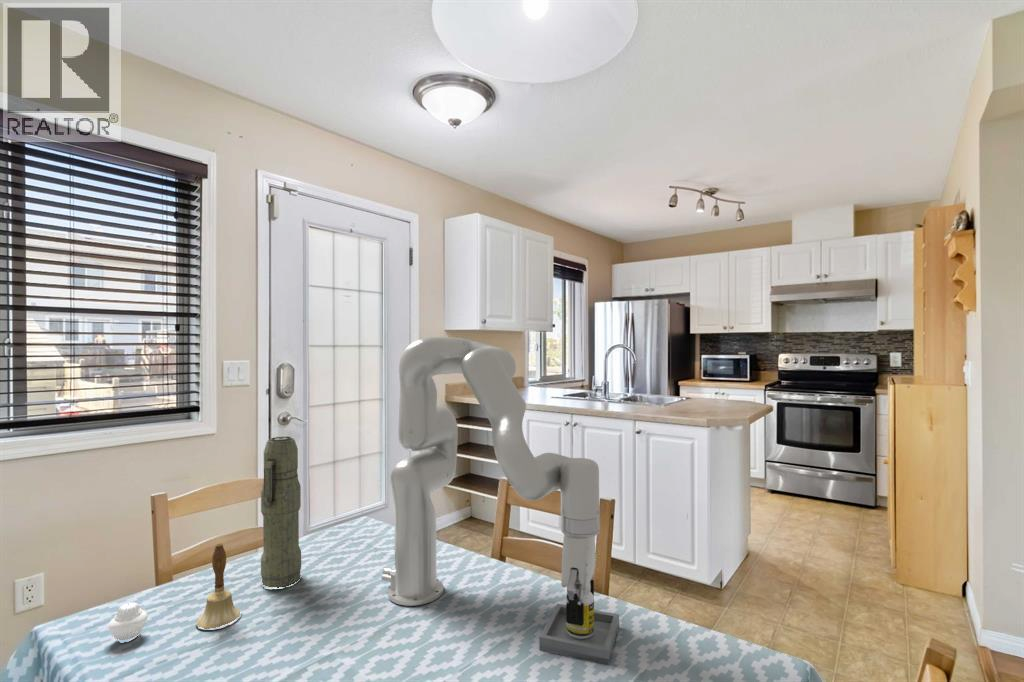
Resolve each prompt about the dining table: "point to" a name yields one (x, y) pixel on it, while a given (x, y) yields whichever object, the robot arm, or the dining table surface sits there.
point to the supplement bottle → (588, 625)
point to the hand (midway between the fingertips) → (580, 610)
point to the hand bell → (218, 596)
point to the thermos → (280, 513)
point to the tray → (586, 649)
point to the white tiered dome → (128, 621)
